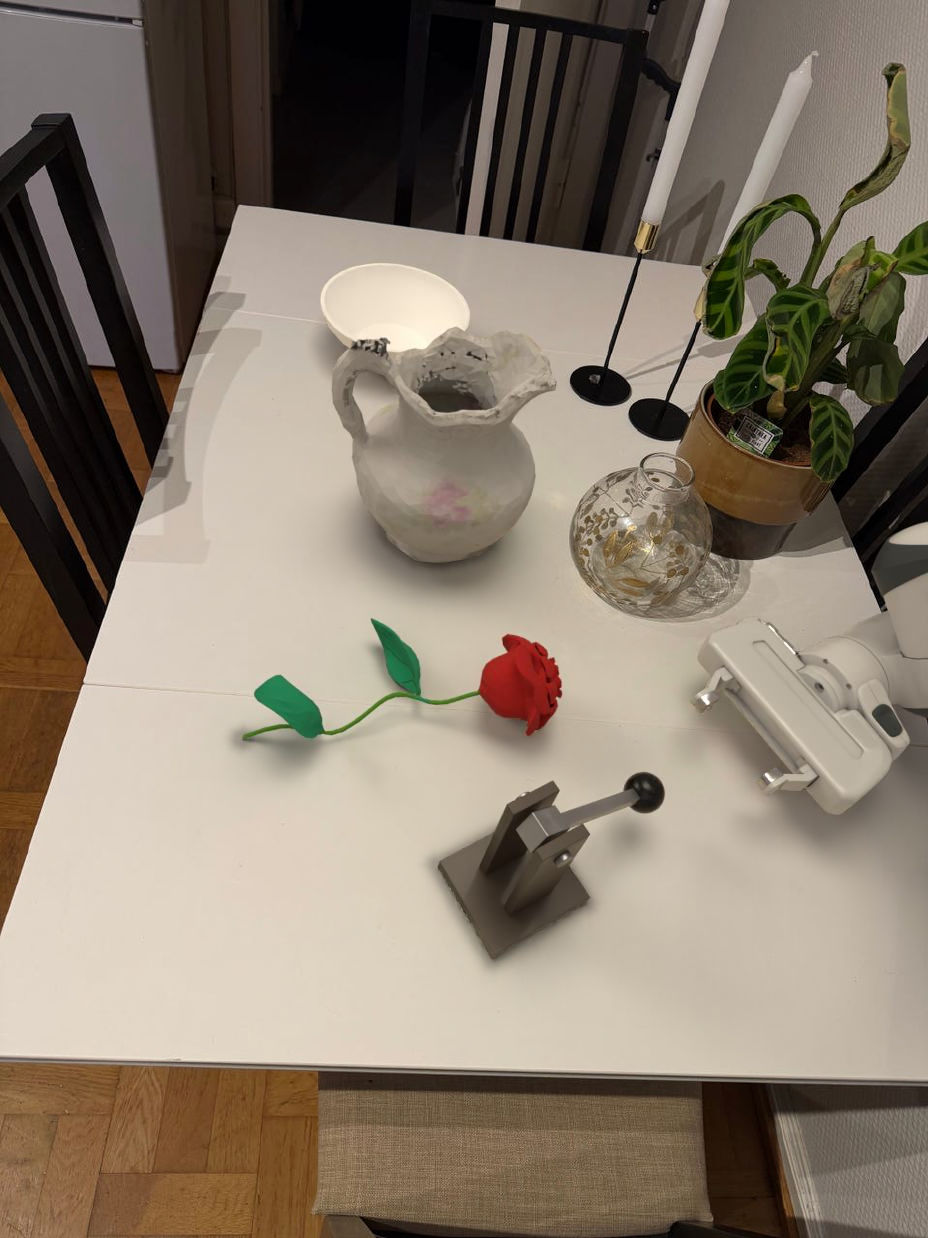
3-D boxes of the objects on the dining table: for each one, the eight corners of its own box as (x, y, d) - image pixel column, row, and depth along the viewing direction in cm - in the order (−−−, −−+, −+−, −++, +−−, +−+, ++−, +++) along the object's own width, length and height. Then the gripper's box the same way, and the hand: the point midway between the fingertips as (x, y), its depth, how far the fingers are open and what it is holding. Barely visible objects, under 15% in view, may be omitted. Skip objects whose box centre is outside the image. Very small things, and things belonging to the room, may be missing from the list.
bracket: (530, 816, 80) (567, 744, 69) (586, 902, 76) (635, 840, 65) (437, 866, 76) (461, 798, 65) (492, 959, 72) (527, 903, 61)
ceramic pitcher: (351, 608, 93) (373, 445, 72) (310, 470, 102) (319, 291, 81) (535, 577, 100) (604, 419, 79) (481, 450, 109) (530, 280, 88)
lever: (631, 784, 80) (655, 760, 78) (655, 816, 78) (680, 793, 76) (506, 826, 68) (530, 799, 66) (531, 866, 66) (557, 840, 64)
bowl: (358, 410, 110) (361, 365, 105) (295, 320, 119) (295, 275, 114) (488, 378, 118) (497, 335, 113) (420, 296, 127) (426, 253, 122)
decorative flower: (249, 636, 87) (244, 574, 80) (535, 639, 93) (556, 580, 85) (241, 761, 79) (235, 705, 71) (556, 756, 84) (582, 703, 77)
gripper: (772, 593, 88) (671, 641, 82) (924, 755, 79) (821, 821, 73) (747, 630, 93) (649, 677, 87) (887, 786, 84) (788, 850, 78)
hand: (729, 744), depth 80 cm, fingers open, 8 cm apart
